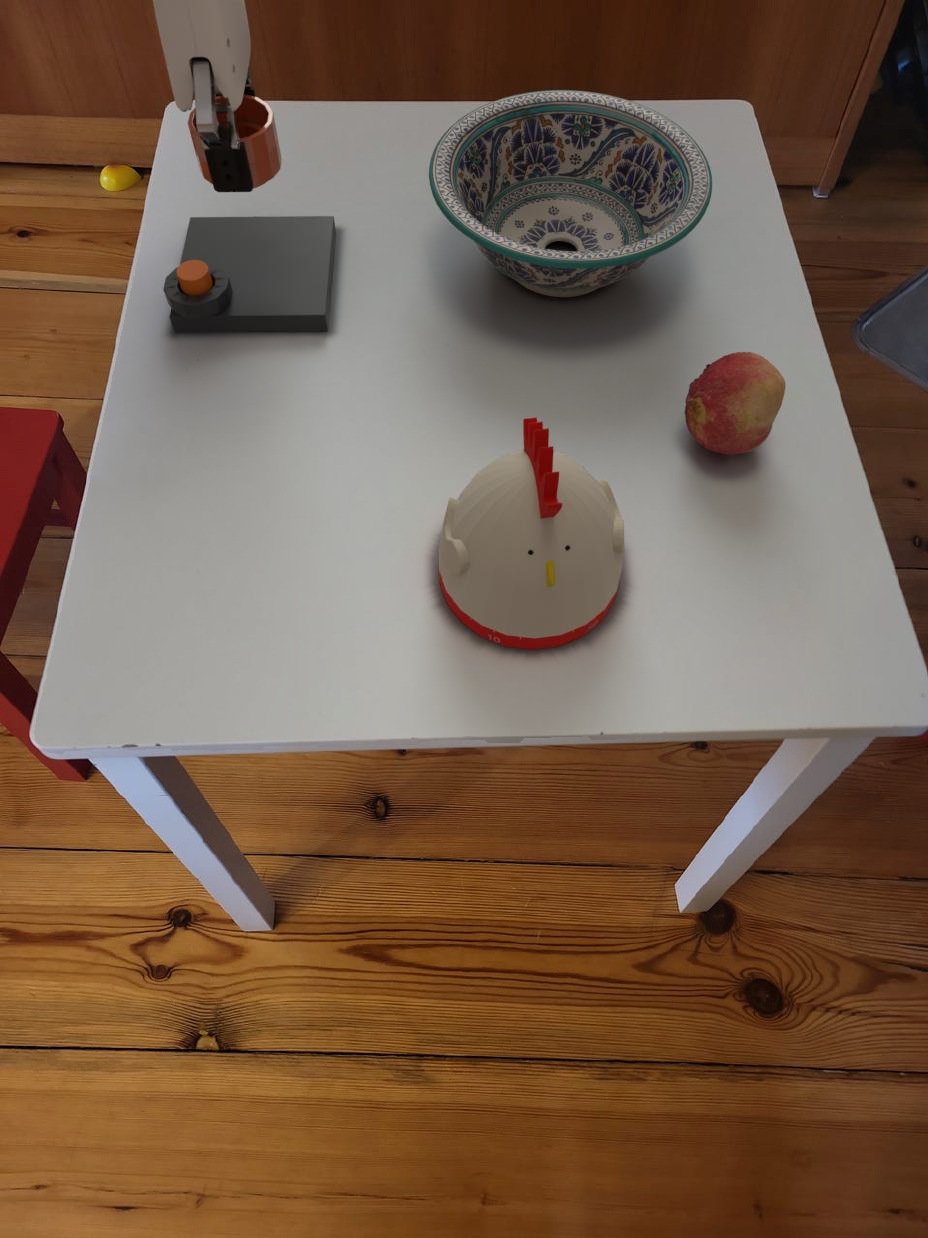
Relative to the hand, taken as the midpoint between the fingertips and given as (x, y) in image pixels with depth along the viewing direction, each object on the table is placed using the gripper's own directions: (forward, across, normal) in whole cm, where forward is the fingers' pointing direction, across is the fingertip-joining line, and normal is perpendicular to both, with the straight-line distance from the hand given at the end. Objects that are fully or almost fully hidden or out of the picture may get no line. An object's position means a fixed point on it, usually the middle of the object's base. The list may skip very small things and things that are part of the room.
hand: (239, 159), depth 77 cm
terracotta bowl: (+1, 0, 0) cm, 1 cm away
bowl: (+12, -2, +28) cm, 31 cm away
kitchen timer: (+12, +34, +23) cm, 43 cm away
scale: (+12, +1, -1) cm, 12 cm away
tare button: (+9, +5, -5) cm, 11 cm away
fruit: (+12, +21, +40) cm, 47 cm away
